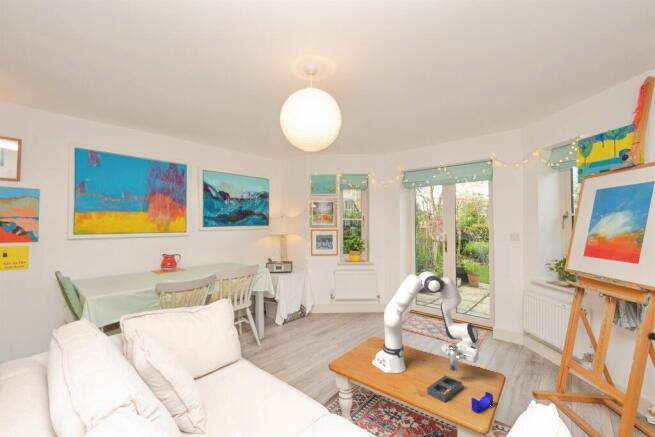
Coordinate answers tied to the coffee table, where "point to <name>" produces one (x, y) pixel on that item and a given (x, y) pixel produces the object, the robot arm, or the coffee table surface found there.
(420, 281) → the robot arm
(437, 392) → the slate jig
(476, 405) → the cable clip
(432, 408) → the coffee table surface
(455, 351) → the steel bushing
